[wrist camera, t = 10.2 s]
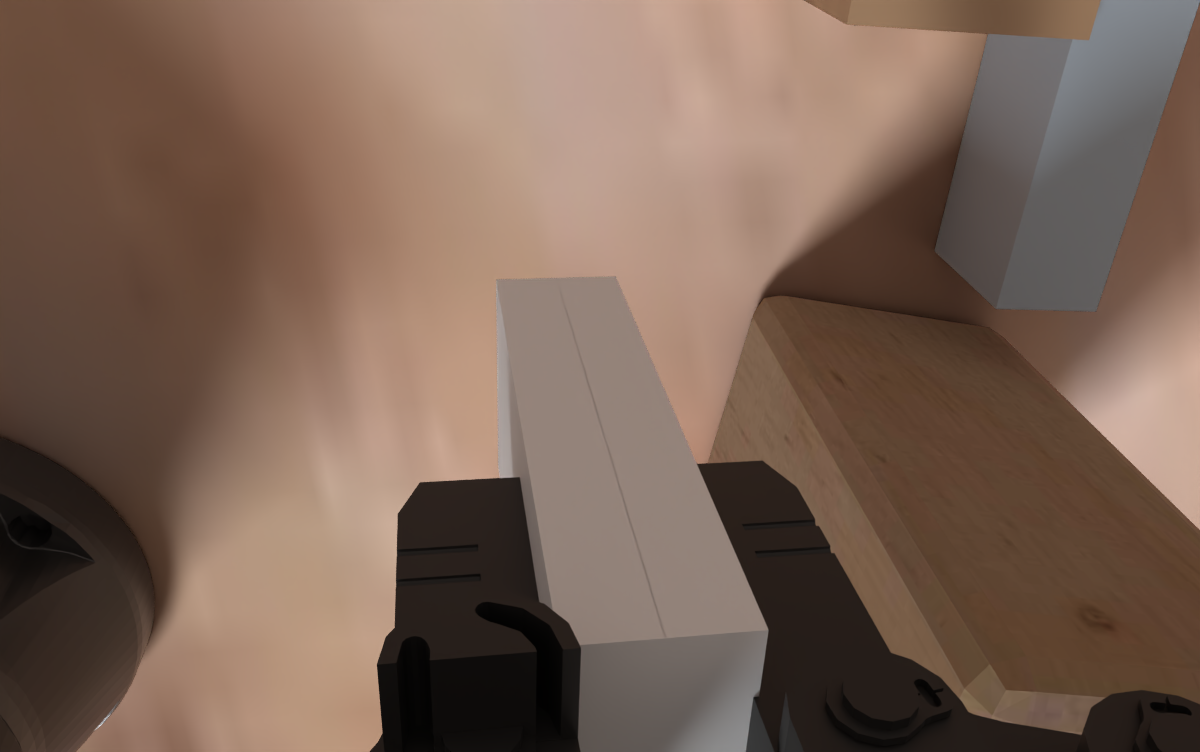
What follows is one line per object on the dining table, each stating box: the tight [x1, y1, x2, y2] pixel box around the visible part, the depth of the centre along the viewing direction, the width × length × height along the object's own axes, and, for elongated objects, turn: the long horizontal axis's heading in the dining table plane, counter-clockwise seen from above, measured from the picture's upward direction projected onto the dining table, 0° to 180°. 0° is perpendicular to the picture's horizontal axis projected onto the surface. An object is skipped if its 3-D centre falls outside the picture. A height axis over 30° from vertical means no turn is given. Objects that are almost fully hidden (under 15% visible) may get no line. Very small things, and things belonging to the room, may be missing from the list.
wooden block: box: [708, 295, 1200, 735], centre depth 32 cm, size 10×10×20 cm
